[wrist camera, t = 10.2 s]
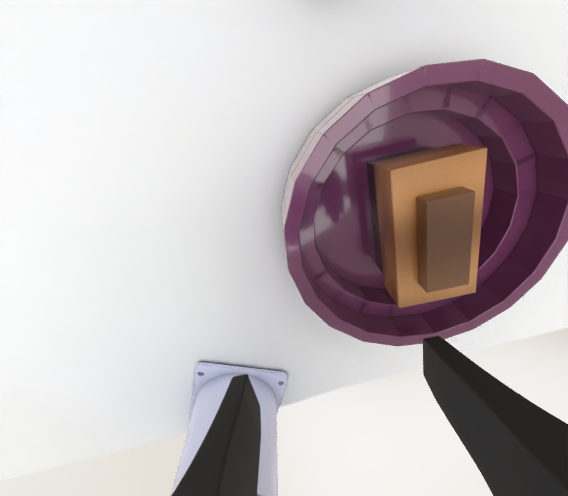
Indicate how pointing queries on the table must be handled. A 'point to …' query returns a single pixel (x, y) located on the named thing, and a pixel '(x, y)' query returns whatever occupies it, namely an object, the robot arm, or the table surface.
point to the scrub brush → (428, 221)
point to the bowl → (415, 135)
